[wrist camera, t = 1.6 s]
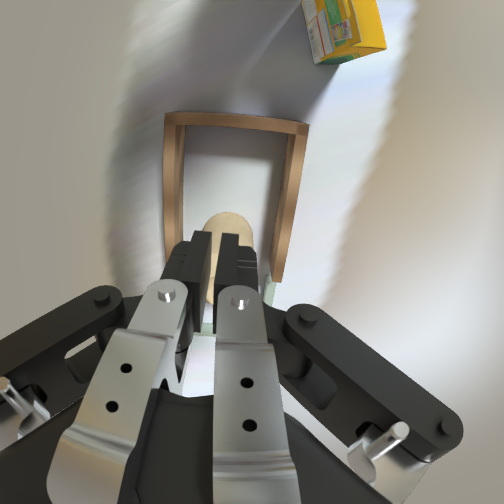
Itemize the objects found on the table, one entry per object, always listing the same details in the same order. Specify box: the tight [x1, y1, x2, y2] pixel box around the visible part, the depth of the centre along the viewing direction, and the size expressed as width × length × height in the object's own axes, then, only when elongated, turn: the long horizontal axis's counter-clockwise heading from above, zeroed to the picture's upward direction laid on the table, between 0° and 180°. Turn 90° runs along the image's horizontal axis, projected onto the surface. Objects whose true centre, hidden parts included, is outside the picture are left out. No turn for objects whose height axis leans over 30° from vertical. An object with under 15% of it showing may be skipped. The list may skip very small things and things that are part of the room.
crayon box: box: [301, 0, 387, 64], centre depth 14 cm, size 7×3×12 cm, turn 10°
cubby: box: [163, 111, 309, 283], centre depth 26 cm, size 16×12×4 cm
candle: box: [203, 212, 254, 305], centre depth 26 cm, size 6×6×10 cm
